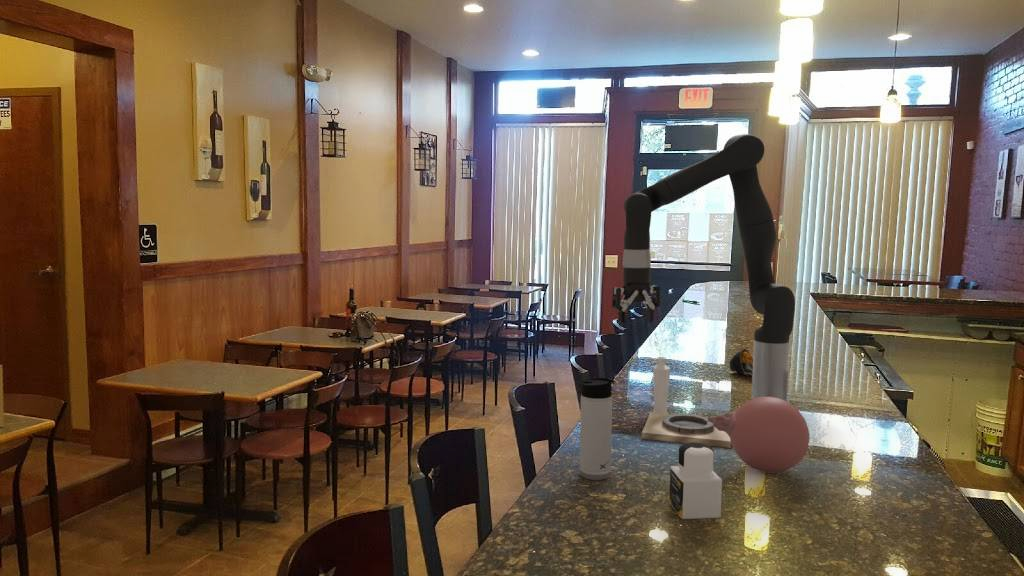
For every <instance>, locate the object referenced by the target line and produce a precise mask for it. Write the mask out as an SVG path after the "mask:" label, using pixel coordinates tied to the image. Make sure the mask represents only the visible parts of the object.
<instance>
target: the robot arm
mask: <svg viewBox="0 0 1024 576" xmlns="http://www.w3.org/2000/svg"><path fill="white" fill-rule="evenodd" d="M764 155H765V145H764V143H763V141H762V139H760V138H759V137H758V136H756V135H754V134H749V133H748V134H747V133H743V134H738V135H737V134H736V135H734V136H732V137H730V138H729V139H728V140H727V141H726V142H725V144H724V146H723V149H721V150H720V151H718V152H716V153H715V154H713V155H712V156H710V157H708V158H706V159H703V160H701V161H699V162H696V163H694V164H692V165H689V166H686V167H684V168H681V169H679V170H678V171H675V172H673V173H671V174H669V175H667V176H666V177H663V178H661V179H659V180H658V181H656V182H655V183H654V184H652V185H650V186H647V187H645V188H643V189H641V190H639V191H636V192H633V193H632V194H630V195H629V196H627V197H626V199H624V200H625V201H624V203H623V210H624V213H625V231H624V238H623V240H624V241H623V242H624V243H623V244H624V245H623V255H622V256H623V257H622V282H623V286H622V287H616V286H614V287H613V288H612V297H611V298H612V300H611V308H612V309H614V310H617V312H618V313H617V315H618V316H617V321H618V322H619V324H620V325H622V326H625V325H627V311H626V310H627V309H628V307H629V306H631V305H632V303H638V302H639V303H642V304H643V305H644V306H645V308H646V309H645V322H646V323H648V324H652V323H653V321H654V318H655V317H654V315H655V313H654V312H655V311H654V310H655V309H657V308H660V307H661V291H660V290H661V287H660V285H655V284H653V285H651V286H650V282H651V268H652V267H651V264H652V263H651V261H652V260H651V258H652V257H651V250H650V249H651V234H650V233H651V232H650V229H651V223H652V222H651V220H652V213H653V212H654V211H656V210H658V209H660V208H662V207H663V206H664V207H665V206H666V205H667V206H668V205H669V204H672V203H674V202H676V201H678V200H681V199H683V198H684V197H686V196H688V195H690V194H692V193H693V192H695V191H697V190H699V189H701V188H703V187H705V186H706V185H707V186H708V184H711V183H713V182H715V181H716V180H719V179H722V178H723V177H726V176H728V177H729V179H730V183H731V187H732V192H733V200H734V207H735V213H736V217H737V225H738V231H739V236H740V240H741V243H742V249H743V254H744V259H745V264H746V269H747V270H746V271H747V277H748V278H747V280H748V289H749V291H748V292H749V300H750V304H751V307H752V308H753V310H754V311H755V312H756V313H758V314H760V315H762V316H763V318H762V319H763V320H762V325H761V327H759V328H756V329H755V330H754V333H753V336H754V337H753V352H752V353H753V354H752V358H753V375H752V379H751V400H752V399H754V398H758V397H775V398H779V399H782V400H784V401H786V402H788V384H789V366H788V365H789V349H790V336H791V334H792V333H793V329H794V328H793V327H794V321H795V311H796V299H795V298H796V297H795V295H794V292H793V290H792V289H791V288H790V287H788V286H786V285H781V284H777V283H776V282H775V281H776V280H775V278H774V274H773V272H774V271H773V268H772V267H773V266H772V258H773V253H774V250H775V246H776V240H777V233H776V232H777V231H776V226H775V221H774V216H773V212H772V209H771V206H770V203H769V202H768V199H767V197H766V195H765V193H764V191H763V189H762V185H761V183H760V179H759V174H758V166H757V165H758V164H759V163H760V162H761V161H762V159H763V158H764ZM650 293H651V297H650V296H649V294H650ZM622 295H623V297H622Z"/></svg>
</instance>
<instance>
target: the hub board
mask: <svg viewBox="0 0 1024 576" xmlns="http://www.w3.org/2000/svg"><path fill="white" fill-rule="evenodd" d="M641 439H642V440H653V441H661V442H672V443H681V444H686V443H691V442H696V443H702V444H705V445H708V446H710V447H719V448H720V447H721V448H729V449H731V448H732V447H731V445H732V444H731V440H730V437H729V436H728V434H727V433H726V432H724V431H719V430H718V429H717V428H716V427H715V426H714V425H713V423H712V422H709V421H708V417H706V416H702V415H699V414H691V413H674V414H673V413H672V414H671V413H667V414H662V413H653V412H649V415H648V417H647V420H646V421H645V425H644V426H643V429H642V431H641Z"/></svg>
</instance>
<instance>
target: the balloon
mask: <svg viewBox="0 0 1024 576" xmlns="http://www.w3.org/2000/svg"><path fill="white" fill-rule="evenodd" d="M707 418H708V421H709V422H712V423H713V425H714V426H715V427H716V428H717V429H718V430H719V431H724V432H726V433H727V434H728V436H729V437H730V440H731V445H732V448H733V450H734V452H735V453H736V455H737V457H738V458H739V459H740V460H741V461H742V462H743V463H745V465H747V466H748V467H750V468H752V469H754V470H756V471H759V472H763V473H765V474H766V473H769V474H776V473H777V474H778V473H783V472H786V471H789V470H790V469H792V468H794V467H796V466H797V465H798V464H799V463H800V462H801V461H802V460H803V459H804V457H805V455H806V453H807V452H808V449H809V446H810V431H809V426H808V423H807V421H806V419H805V417H804V416H803V414H802V413H801V412H800V410H798V409H797V407H796V406H794V405H793V404H791V403H790V402H788V401H787V402H786V401H784V400H782V399H779V398H775V397H758V398H754V399H752V398H751V399H750V400H748V401H746V402H744V403H743V404H742V405H740V406H739V407H737V408H735V409H734V410H733V411H729V412H727V413H724V414H718V415H716V416H715V415H713V416H711V415H710V416H708V417H707Z"/></svg>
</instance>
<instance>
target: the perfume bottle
mask: <svg viewBox="0 0 1024 576" xmlns="http://www.w3.org/2000/svg"><path fill="white" fill-rule="evenodd" d="M666 359H667V357H664V356H658V357H657V364H656V365H654V366H652V373H653V375H652V376H653V398H654V401H653V402H654V407H653V410H652V413H662V414H669V412H668V409H667V406H668V397H669V387H670V377H671V369H672V368H671V367H669V366H668V365H666Z"/></svg>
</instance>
